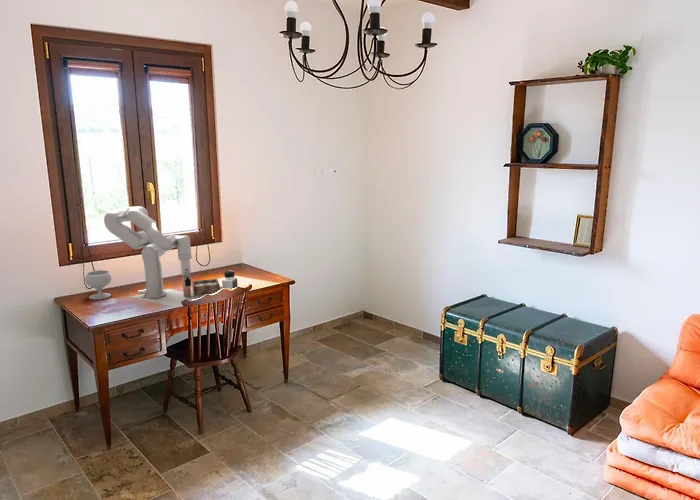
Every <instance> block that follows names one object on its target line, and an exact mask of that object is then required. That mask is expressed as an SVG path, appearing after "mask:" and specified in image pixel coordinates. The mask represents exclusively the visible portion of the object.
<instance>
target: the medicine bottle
mask: <svg viewBox="0 0 700 500" xmlns="http://www.w3.org/2000/svg"><path fill="white" fill-rule="evenodd" d="M223 274H224V278H223V279H221V284H222V287H221V289H223V288H230V289H232V288H235V287H237V286H239V284H238V278H237V277H235V271H234V270H226V271H224V273H223Z"/></svg>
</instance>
